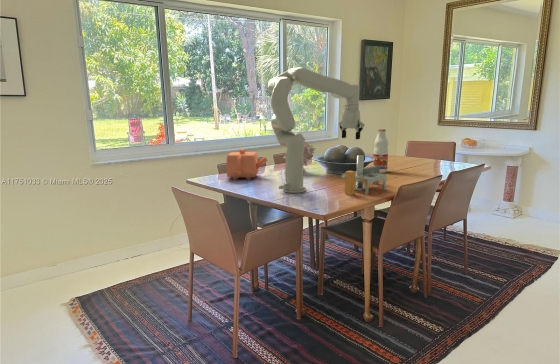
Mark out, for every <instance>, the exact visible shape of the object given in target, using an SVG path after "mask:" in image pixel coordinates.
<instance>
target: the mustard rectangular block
mask: <svg viewBox="0 0 560 364" xmlns="http://www.w3.org/2000/svg"><path fill="white" fill-rule="evenodd" d="M355 171H356V170H355ZM355 171H354V170H347V171H345V172H344V174H345V178H344V195H345V196H346V195H347V196H353V195H355V192H356V191H355V190H356V189H355V185H356V181H355Z"/></svg>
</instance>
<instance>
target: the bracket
mask: <svg viewBox="0 0 560 364" xmlns="http://www.w3.org/2000/svg"><path fill="white" fill-rule="evenodd" d="M379 171H380V166H373V165H372V166H368V167H363V174H365V173H369V172H373V173H378V174H380V173H379ZM372 184H373V185H380V180H379V181H374V182H372Z"/></svg>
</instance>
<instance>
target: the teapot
mask: <svg viewBox="0 0 560 364" xmlns="http://www.w3.org/2000/svg"><path fill="white" fill-rule="evenodd" d="M268 162H269V160H268V158H267V157H266V156H263V157H262V158H260V160H259V159H258V152H257V151H246V149H243V148H241V149H238V151H231V152H229V154H227V155H226V163H225V164H226V165H225V166H226V177H227V178H232V180H238V179H239V178H245V180H252V178H255V177H256V176H257V174H258V173H259V169H260V167H262V166H263V165H265V164H266V163H268Z"/></svg>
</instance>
